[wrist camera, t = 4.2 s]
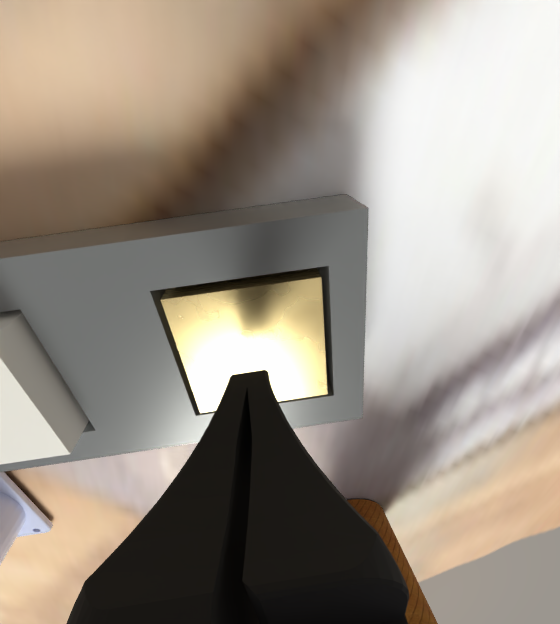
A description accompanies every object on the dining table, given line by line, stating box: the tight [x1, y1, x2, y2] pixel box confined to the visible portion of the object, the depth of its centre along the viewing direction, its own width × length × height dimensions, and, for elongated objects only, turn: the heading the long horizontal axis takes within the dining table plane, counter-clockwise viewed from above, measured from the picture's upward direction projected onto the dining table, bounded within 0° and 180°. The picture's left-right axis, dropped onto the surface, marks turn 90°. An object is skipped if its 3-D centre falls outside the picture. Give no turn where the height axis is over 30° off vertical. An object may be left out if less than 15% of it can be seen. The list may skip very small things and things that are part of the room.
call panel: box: [0, 194, 368, 472], centre depth 15 cm, size 22×11×3 cm, turn 96°
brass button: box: [161, 268, 328, 413], centre depth 15 cm, size 6×6×3 cm
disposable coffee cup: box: [347, 499, 438, 624], centre depth 22 cm, size 10×10×12 cm
